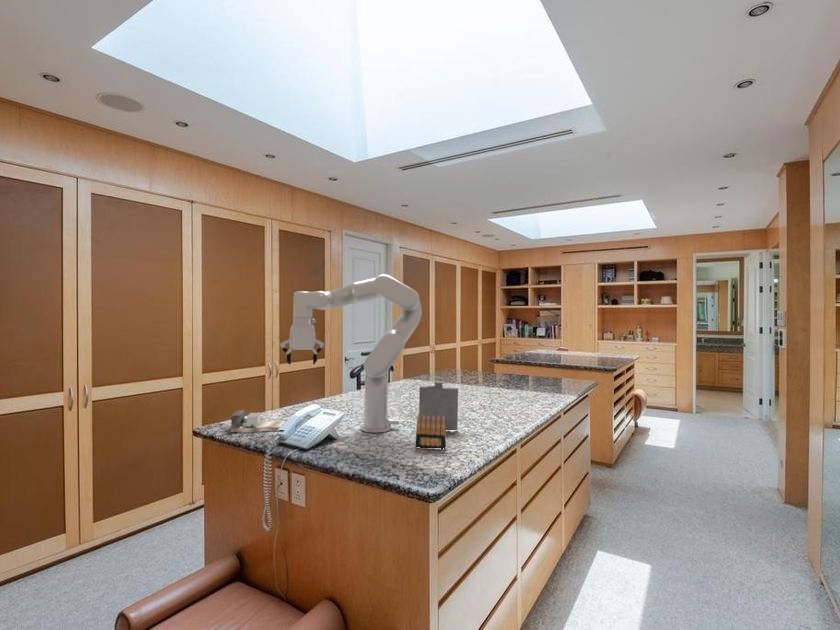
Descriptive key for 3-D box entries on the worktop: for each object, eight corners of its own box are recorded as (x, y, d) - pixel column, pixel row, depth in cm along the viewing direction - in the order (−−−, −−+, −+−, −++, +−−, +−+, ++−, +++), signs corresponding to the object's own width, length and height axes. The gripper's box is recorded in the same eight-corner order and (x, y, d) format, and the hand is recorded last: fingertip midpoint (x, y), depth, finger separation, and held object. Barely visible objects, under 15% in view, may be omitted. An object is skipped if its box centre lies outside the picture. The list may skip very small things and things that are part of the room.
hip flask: (457, 430, 177) (458, 381, 177) (456, 433, 173) (457, 383, 173) (419, 428, 180) (420, 380, 180) (417, 430, 176) (418, 381, 176)
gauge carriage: (260, 422, 178) (260, 412, 178) (256, 428, 168) (256, 418, 168) (243, 422, 176) (243, 413, 176) (238, 428, 167) (238, 418, 167)
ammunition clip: (415, 448, 152) (415, 414, 152) (416, 446, 154) (416, 413, 154) (445, 450, 151) (446, 415, 151) (445, 448, 153) (446, 414, 153)
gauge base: (287, 424, 181) (287, 409, 181) (284, 431, 171) (284, 414, 171) (236, 426, 177) (236, 410, 177) (230, 432, 167) (231, 415, 167)
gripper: (324, 321, 181) (324, 362, 181) (281, 321, 177) (280, 363, 177) (324, 322, 173) (323, 364, 173) (279, 321, 170) (278, 365, 170)
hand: (301, 363), depth 175 cm, fingers open, 9 cm apart
